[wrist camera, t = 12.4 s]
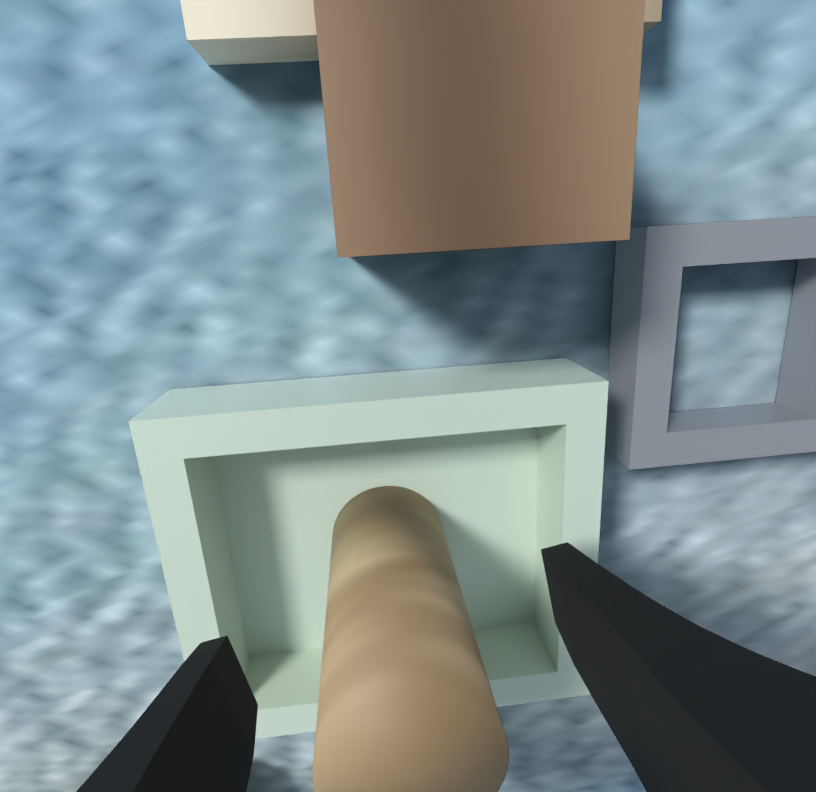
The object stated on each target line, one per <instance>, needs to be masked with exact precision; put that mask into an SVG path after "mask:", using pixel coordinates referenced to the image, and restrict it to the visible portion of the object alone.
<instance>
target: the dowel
mask: <svg viewBox="0 0 816 792" xmlns="http://www.w3.org/2000/svg"><path fill="white" fill-rule="evenodd" d="M508 762H509V749H508V744H507V740H506V736H505V733H504V730H503V726H502V723H501V720H500V717H499V713H498V710H497V707H496V703H495V700H494V697H493V694H492V690H491V687H490V684H489V680H488V677H487V674H486V670H485V667H484V664H483V661H482V657H481V654H480V651H479V647H478V644H477V641H476V638H475V634H474V631H473V628H472V624H471V621H470V618H469V614H468V611H467V608H466V605H465V601H464V598H463V595H462V591H461V588H460V585H459V582H458V578H457V575H456V572H455V568H454V565H453V562H452V559H451V555H450V552H449V549H448V545H447V542H446V539H445V535H444V532H443V529H442V526H441V522H440V519H439V516H438V514H437V512H436V510H435V508H434V507H433V506H432V504H431V503H430V502H429V501H428V500H427V499H426V498H425V497H423V496H422V495H420V494H419V493H417V492H415V491H413V490H410V489H408V488H404V487H399V486H380V487H375V488H371V489H368V490H366V491H363V492H362V493H360V494H358V495H356V496H355V497H353V498H352V499H351V500H350V501H349V502H347V503H346V505H345V506H344V507H343V508H342V509H341V511H340V512H339V514H338V516H337V518H336V520H335V524H334V527H333V535H332V547H331V559H330V570H329V582H328V594H327V606H326V618H325V630H324V641H323V653H322V665H321V677H320V689H319V701H318V712H317V724H316V736H315V748H314V760H313V785H314V790H315V792H498V790H499V789H500V787H501V785H502V783H503V781H504V778H505V775H506V772H507V769H508Z"/></svg>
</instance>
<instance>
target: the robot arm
mask: <svg viewBox="0 0 816 792" xmlns="http://www.w3.org/2000/svg"><path fill="white" fill-rule="evenodd" d="M541 553H542V558H543V564H544V569H545V574H546V579H547V584H548V589H549V595H550V600H551V605H552V610H553V615H554V620H555V624H556V626H557V628H558V630H559V633H560V635H561V637H562V639H563V642H564V644H565V646H566V648H567V651H568V653H569V655H570V657H571V659H572V662H573V664H574V666H575V668H576V669H577V671H578V673H579V675H580V676H581V678H582V680H583V682H584V683H585V685H586V687H587V689H588V690H589V692H590V694H591V695H592V697H593V699H594V701H595V702H596V704H597V706H598V707H599V709H600V711H601V713H602V714H603V716H604V718H605V719H606V721H607V723H608V724H609V726H610V728H611V730H612V731H613V733H614V735H615V736H616V738H617V740H618V742H619V743H620V745H621V747H622V748H623V750H624V752H625V753H626V755H627V757H628V759H629V760H630V762H631V764H632V765H633V767H634V769H635V771H636V773H637V774H638V776H639V778H640V780H641V782H642V784H643V786H644V787H645V789H646V791H647V792H816V677H815V676H812V675H810V674H807V673H804V672H802V671H799V670H797V669H794V668H792V667H789V666H787V665H784V664H782V663H779V662H777V661H774V660H772V659H769V658H767V657H764V656H762V655H760V654H757V653H755V652H753V651H751V650H748V649H746V648H744V647H741V646H739V645H737V644H735V643H733V642H731V641H729V640H727V639H725V638H723V637H720V636H718V635H716V634H714V633H712V632H710V631H708V630H706V629H704V628H702V627H700V626H698V625H696V624H694V623H692V622H691V621H689V620H687V619H685V618H683V617H682V616H680V615H678V614H676V613H674V612H673V611H671V610H669V609H667V608H666V607H664V606H662V605H661V604H659V603H657V602H656V601H654V600H652V599H651V598H649V597H647V596H646V595H644V594H643V593H641V592H640V591H638V590H636V589H635V588H633V587H632V586H630V585H629V584H627V583H625V582H624V581H622V580H621V579H619V578H618V577H616V576H615V575H613V574H612V573H611V572H609V571H608V570H606V569H605V568H603V567H602V566H600V565H599V564H598V563H596V562H595V561H593V560H592V559H591V558H589V557H588V556H586V555H585V554H584V553H582V552H581V551H579V550H578V549H577V548H575V547H574V546H572V545H571V544H569V543H567V542H566V543H562V544H559V545H555V546H551V547H548V548H544V549H541ZM257 710H258V703H257V701H256V699H255V697H254V694H253V692H252V690H251V688H250V685H249V683H248V681H247V679H246V676H245V674H244V672H243V670H242V667H241V665H240V663H239V661H238V658H237V656H236V654H235V652H234V649H233V647H232V645H231V642H230V640H229V638H228V636H223V637H220V638H216V639H212V640H209V641H205V642H201V643H200V644H199V645H198V646H197V647H196V649H195V650H194V651H193V652H192V653H191V654H190V656H189V657H188V658H187V659H186V660H185V662H184V663H183V664H182V665H181V667H180V668H179V669H178V670H177V672H176V673H175V674H174V675H173V677H172V678H171V679H170V681H169V682H168V683H167V684H166V686H165V687H164V688H163V689H162V691H161V692H160V693H159V694H158V696H157V697H156V698H155V699H154V701H153V702H152V703H151V704H150V706H149V707H148V708H147V709H146V711H145V712H144V713H143V714H142V715H141V717H140V718H139V719H138V720H137V722H136V723H135V724H134V725H133V727H132V728H131V729H130V730H129V732H128V733H127V734H126V735H125V736H124V737H123V739H122V740H121V741H120V742H119V743H118V744H117V746H116V747H115V748H114V749H113V750H112V751H111V752H110V754H109V755H108V756H107V757H106V758H105V759H104V761H103V762H102V763H101V764H100V765H99V766H98V768H97V769H96V770H95V771H94V772H93V773H92V775H91V776H90V777H89V778H88V779H87V780H86V782H85V783H84V784H83V785H82V786H81V787H80V788H79V789H78V790H77V791H76V792H246V789H247V784H248V780H249V775H250V770H251V765H252V760H253V754H254V744H255V735H256V723H257Z"/></svg>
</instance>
